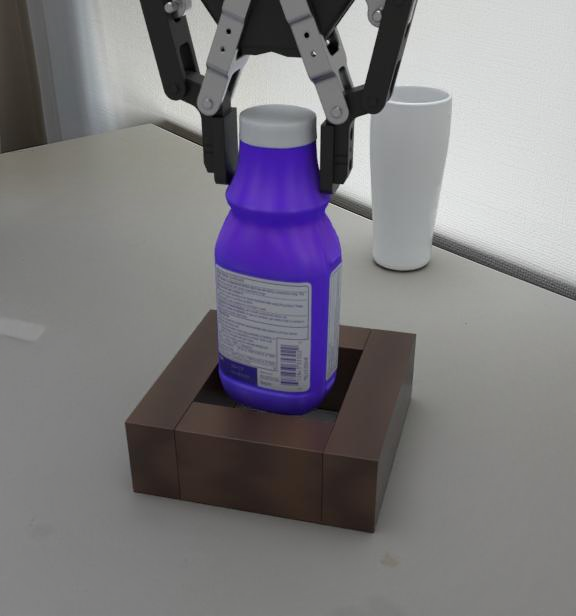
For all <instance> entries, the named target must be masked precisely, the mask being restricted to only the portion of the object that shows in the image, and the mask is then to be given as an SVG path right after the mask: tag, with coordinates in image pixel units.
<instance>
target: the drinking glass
mask: <svg viewBox="0 0 576 616" xmlns="http://www.w3.org/2000/svg"><path fill="white" fill-rule="evenodd" d="M452 110H453V94H452V93H451V92H450V91H448V90H446V89H444V88H440V87H437V86H431V85H422V84H397V85H396V84H395V87H394V90H393V94H392V96H391V98H390V99H389V101H388V102H386V105H385V107H384V108H383V110H382V111H381V112H379V113H378V114H369V133H368V135H369V137H368V142H369V147H368V148H369V167H370V169H369V170H370V171H369V172H370V193H371V195H370V196H371V197H370V198H371V216H372V218H371V219H372V246H371V247H372V249H371V254H372V258H373V260H374V261H375V263H376V264H377V265H379V266H381V267H383V268H386V269H388V270H394V271H404V272H405V271H414V270H418V269H420V268H424V267H425V266H426V265H427V264H428V263H429V262H430V260H431V257H432V250H433V249H432V248H433V238H434V233H435V226H436V221H437V215H438V209H439V204H440V197H441V192H442V186H443V180H444V175H445V169H446V165H447V164H446V163H447V157H448V153H449V146H450V145H449V144H450V137H451V127H452V114H453V113H452Z"/></svg>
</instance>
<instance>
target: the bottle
mask: <svg viewBox="0 0 576 616" xmlns="http://www.w3.org/2000/svg"><path fill="white" fill-rule="evenodd" d="M317 119H318V118H317V113H316V112H315V111H314V110H312V109H310V108H307V107H304V106H299V105H294V104H293V105H292V104H284V103H283V104H281V103H280V104H279V103H274V104H273V103H272V104H271V103H270V104H269V103H267V104H258V105H254V106H250V107H247V108H245V109H243V110H242V111H241V112H240V113H239V115H238V122H239V123H238V164H237V167H236V171H235V174H234V176H233V178H232V180H231V182H230V185H227V187H226V189H225V193H224V197H225V200H226V202H227V205H228V206H229V207H230V209H229V210H228V213H227V215H226V217H225V219H224V221H223V223H222V226H221V228H220V231H219V233H218V235H217V238H216V241H215V245H214V255H213V256H214V272H215V273H214V275H215V276H214V277H215V279H214V280H215V300H216V301H215V302H216V310H217V326H218V352H219V375H220V380H221V383H222V385H223V388H224V390H225V392H226V393H227V394H228V395H229V396H230V397H231V398H232V399H233V400H235V401H237V403H239V404H241V405H242V406H245V407H248V408H252V409H254V410H257V411H260V412H267V413H274V414H281V415H288V416H294V417H300V416H304V415H306V414H309V413H311V412H313V411H314V410H316V409H317V407H318V406H319V405H320V404H321V403H322V401H323V400H324V399H325V398H326V396H327V395H328V394H329V392H330V390H331V388H332V386H333V384H334V381H335V377H336V370H337V365H338V344H339V325H340V323H341V322H340V321H341V300H342V299H341V296H342V279H343V278H342V276H343V257H342V255H343V254H342V246H341V241H340V237H339V235H338V233H337V231H336V229H335V227H334V226H333V223H332V221H331V219H330V217H329V216H328V215H327V213H326V209H327V207H328V206H329V204H330V201H331V194H321V193H320V164H319V161H318V160H319V159H318V145H317V144H318V143H317V141H318V140H317V139H318V130H317V126H318V125H317V123H318V121H317Z"/></svg>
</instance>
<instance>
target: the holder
mask: <svg viewBox="0 0 576 616" xmlns="http://www.w3.org/2000/svg"><path fill="white" fill-rule="evenodd" d="M416 344H417V333H413V332H406V331H405V332H403V331H396V330H389V329H380V328H370V327H363V326H353V325H345V324H339V344H338V365H337V370H336V377H335V381H334V384H333V386H332V388H331V390H330V392H329V394H328V395H327V396H326V398H325V399H324V400H323V401H322V403H321V404H320V405H319V406H318V407H317V408H318V409H325V410H330V411H331V410H332V411H338V414H337V416H336V419H335V421H334V422H333V421H329V420H322V419H321V420H320V419H314V418H308V417H301V416H290V415H281V414H275V413H270V412H266V411H261V410H251V409H246V408H245V409H244V408H240V407H239V408H238V407H235V406H236V405H237V403H238V402H237V401H235V400H233V399H232V398H231V397H230V396H229V395H228V394H227V393H226V392H225V390H224V388H223V385H222V383H221V380H220V375H219V352H218V326H217V309H209V310H208V311H207V313H206V314H205V315H204V317H203V318H202V320H200V322H199V323H198V325H197V326H196V327H195V329H194V330H193V331H192V332H191V334H190V335H189V336H188V338H187V339H186V340H185V342H184V343H183V344H182V345H181V347H180V348H179V350H178V351H177V352H176V353H175V355H174V357H173V358H171V360H170V361H169V363H168V364H167V365H166V367H165V368H164V369H163V371H162V372H161V373H160V375H159V376H158V377H157V379H156V380H155V381H154V382H153V384H152V385H151V386H150V388H149V390H147V392H146V393H145V395H144V396H143V397H142V398H141V399H140V401H139V402H138V404H137V405H136V406H135V408H134V409H133V411H132V412H131V413H130V414H129V416H128V417H127V418H126V419H125V421H124V427H125V428H124V429H125V436H126V444H127V450H128V451H127V453H128V460H129V467H130V475H131V482H132V491H133V492H137V493H142V494H148V495H153V494H154V496H159V497H165V498H171V499H176V498H177V500H183V501H189V502H194V503H199V504H205V505H206V504H207V505H211V506H218V507H223V508H230V509H235V510H240V511H247V512H252V513H259V514H263V515H268V516H269V515H270V516H276V517H281V518H287V519H293V520H299V521H304V522H310V523H317V524H322V525H327V526H333V527H339V528H344V529H351V530H355V531H361V532H362V531H363V532H368V533H375V530H376V527H377V522H378V519H379V515H380V513H381V510H382V509H381V508H382V505H383V501H384V497H385V494H386V490H387V486H388V484H389V481H390V480H389V479H390V476H391V472H392V468H393V465H394V462H395V458H396V454H397V450H398V447H399V444H400V439H401V437H402V432H403V428H404V425H405V421H406V418H407V414H408V410H409V406H410V405H411V399H412V395H413V381H414V380H413V379H414V370H415V357H416V346H417V345H416ZM317 408H316V409H317Z"/></svg>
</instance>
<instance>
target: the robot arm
mask: <svg viewBox="0 0 576 616" xmlns="http://www.w3.org/2000/svg"><path fill="white" fill-rule="evenodd" d="M364 1H365V3H366V6H367V12H366V13H367V14H366V15H367V19H368V22H369V23H370V25H371V26H373V27H375V28H378V29H377V32H376V33H377V34H376V37H375V42H374V45H373V49H372V54H371V58H370V61H369V65H368V68H367V69H368V70H367V74H366V77H365V81H364V83H363V84H360V85H357V86H354V82H353V79H352V76H351V73H350V71H349V67H348V60H347V59H348V58H347V53H346V50H345V48H344V45H343V42H342V38H341V36H340V33H339V29H338V27H337V26H339V24H340V22H341V21H342V19H343V18H344V17H345V15H346V14H347V13H348V11H349V10H350V8H351V7H352V6H353V4H354V3H355V2H356V0H200V2H201V4H202V5H203V7H204V8H205V9H206V11H207V13H208V14H209V15H210V17H211V18H212V20H213V21H214V23H215V24H216V29H215V32H214V36H213V38H212V42H211V44H210V45H211V46H210V49H209V52H208V55H207V58H206V62H205V67H206V69H205V74H201V71H200V67H199V63H198V59H197V55H196V50H195V47H194V42H193V38H192V35H191V31H190V27H189V23H188V18H187V15H188V14H189V13H190V12H191V10H192V7H193V3H192V2H193V1H192V0H139V5H140V7H141V11H142V15H143V18H144V23H145V27H146V31H147V33H148V37H149V41H150V44H151V48H152V52H153V57H154V60H155V63H156V67H157V70H158V74H159V78H160V81H161V86H162V89H163V92H164V94H165V96H166V97H167V98H168V99H169V100H171V101H175V102H177V101H182V102H184V103H186V104H189V105H191V106H192V107H194V108H195V109H196V110H197V112H198V113H199V116H200V120H201V137H202V138H201V139H202V141H201V142H202V157H203V165H204V167H205V169H206V172H207V173H208V174H213V180H214V183H215V184H216V185H223V186H228V185H230V182H231V180H232V178H233V176H234V174H235V171H236V167H237V164H238V157H239V129H238V107H236V106H232V100H233V98H234V96H235V93H236V90H237V87H238V85H239V81H240V79H241V76H242V73H243V70H244V68H245V67H246V64H247V62H248V61H249V58H250V56H259V55H260V56H261V55H264V54H267V53H274V54H277V55H280V56H283V57H285V58H297V59H301V60H302V63H303V65H304V68H305V71H306V74H307V77H308V79H309V81H310V82H311V83H313V85H314V87H315V90H316V93H317V96H318V99H319V102H320V104H321V107H322V110H323V112H324V113H323V114H324V115H325V120H323V122H322V123H321V124H320V126H319V127H320V133H319V134H320V135H319V136H320V138H319V169H320V193H321V194H330V196H331V195H335V194H336V192H337V191H338V189H339V188H340V186H341V185H344V184H345V183H346V181H347V180H348V178H349V177H350V174H351V173H352V170H353V168H354V147H355V145H354V144H355V123H356V119H357V118H360V117H363V116H365V115H370V114H378V113H379V112H381V111H382V110H383V108H384V107H385V105H386V102H388V101H389V99H390V98H391V96H392V94H393V90H394V87H395V85H396V83H397V79H398V75H399V71H400V68H401V64H402V61H403V56H404V52H405V49H406V47H407V46H406V45H407V42H408V38H409V36H410V35H409V34H410V30H411V27H412V24H413V20H414V16H415V12H416V9H417V5H418V1H419V0H364Z"/></svg>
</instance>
